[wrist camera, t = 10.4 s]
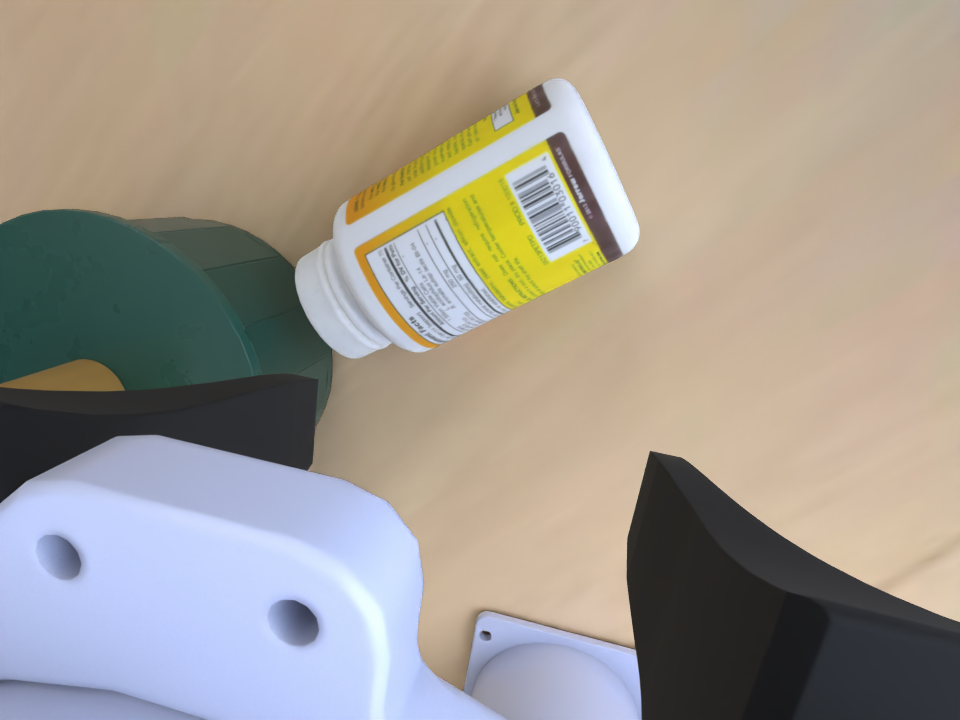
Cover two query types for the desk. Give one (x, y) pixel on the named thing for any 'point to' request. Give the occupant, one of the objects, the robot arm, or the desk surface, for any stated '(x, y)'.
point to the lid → (110, 309)
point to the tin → (255, 295)
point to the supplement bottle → (470, 229)
